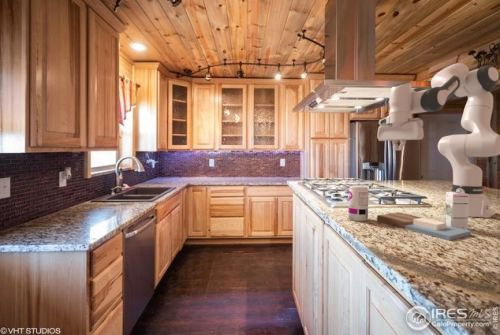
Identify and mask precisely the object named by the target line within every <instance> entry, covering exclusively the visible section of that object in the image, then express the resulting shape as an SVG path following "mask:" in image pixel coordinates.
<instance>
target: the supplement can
mask: <svg viewBox="0 0 500 335" xmlns="http://www.w3.org/2000/svg"><path fill="white" fill-rule="evenodd" d="M369 191H370V190H369V188H368V186H366V185H360V184H359V185H357V184H356V185H350V187H349V189H348V215H347V217H348V218H349V219H350V220H351V221H354V222H366V221H367V220H368V219H369Z"/></svg>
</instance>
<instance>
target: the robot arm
mask: <svg viewBox="0 0 500 335" xmlns="http://www.w3.org/2000/svg"><path fill="white" fill-rule="evenodd" d="M499 80H500V71H499V70H498V69H497V68H496V67H495V66H493V65H488V64H487V65H483V66H480V67H479V68H475V69H473V70H469V67H468V66H467V65H466V64H465V63H462V62H461V63H460V62H457V63H453V64H449V65H447V66H446V67H445V68H443V69H441V70H440V71H438V72H436V74H435V75H434V76H433V77H431V80H430V86H431V87H430V88H428V89H427V88H426V89H422V90H419V91H416V90H414V89H413V88H412V84H411V83H410V82H402V83H397V84H395V85H393V86H392V87H391V88H390V91H389V92H390V93H389V100H388V101H389V102H388V104H389V111H388V116H386V117H384V118H381V119H379V121H378V125H379V126H378V128H377V133H376V134H377V136H376V137H377V139H378V141H379V142H386V141H387V142H388V141H391V142H392V145H393V147H394V148H393V149H394V150H393V151H403V149H404V146H405V145H406V141H416V140H423V138H424V136H425V135H424V127H423V126H424V120H423V119H422V118H421V117H415V118H412V115H413V114H421V113H427V112H428V113H429V112H439V111H440V110H442V109H443V108H444V107H445V104H446V103H447V102H448V100H449V99H450V98H451V99H453V100H455V99H462V98H464V97H467V101H466V104H465V106H464V109H463V113H462V117H461V120H460V126H461V127H462V129H464V130H465V131H468V132H470V133H468V134H467V133H465V134H450V135H446V136H442V137H441V138H440V139H439V141H438V143H437V149H438V152H439V153H440V154H441V155H442V156H443V157H444V158H446V159H447V160H448V162H449V163H450V165H451V168H452V184H451V187H450V189H451V191H450V192H462V193H465V194H469V205H468V217H470V218H471V217H472V218H473V217H474V218H485V219H489V218H491V217H493V216H495V215H496V214H497V211H494V210H491V202H490V200H489V198H487V197H486V195H485V194H484V192H485V191H486V189H487V187H486V185H484V186H483V170H482V168H481V167H480V166H478V165H476V164H473V163H471V162H470V160H469V157H470V158H489V157H495V156H496V157H497V156H499V155H500V134H498V133H497V132H495V131H494V130H493V129H492V127H491V119H492V114H493V109H494V96H493V94H492V93H491V92H492V91H494V90H495V89H496V86H497V84H498V82H499ZM398 143H400V144H399V145H398ZM445 209H446V207H445V208H444V211H445Z"/></svg>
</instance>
